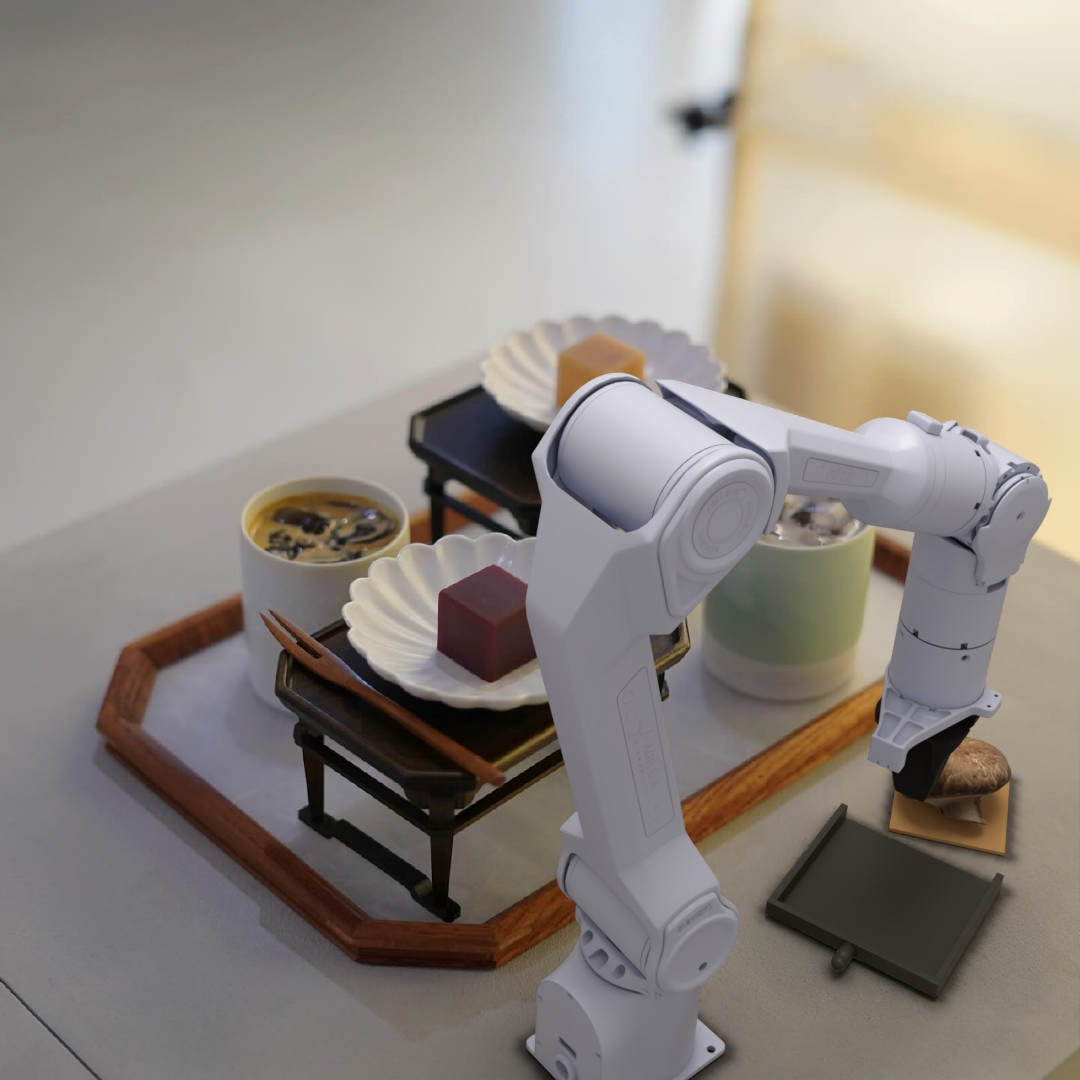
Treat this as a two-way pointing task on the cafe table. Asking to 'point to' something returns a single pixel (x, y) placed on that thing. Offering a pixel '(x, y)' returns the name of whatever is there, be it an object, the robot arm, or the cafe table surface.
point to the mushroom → (969, 780)
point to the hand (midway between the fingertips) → (912, 790)
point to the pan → (883, 903)
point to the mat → (954, 822)
